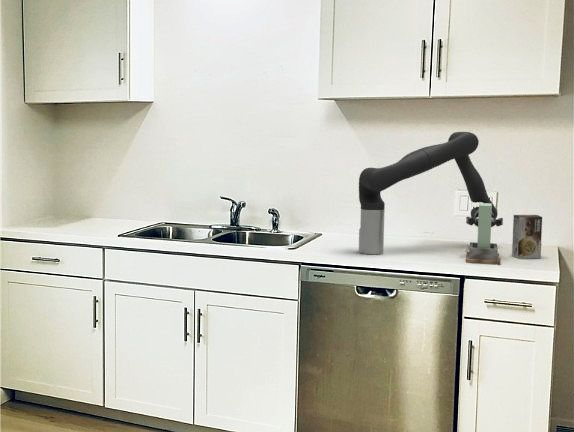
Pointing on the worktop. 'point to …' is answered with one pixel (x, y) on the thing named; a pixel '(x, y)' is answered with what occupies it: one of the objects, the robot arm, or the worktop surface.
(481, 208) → the block
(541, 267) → the worktop surface
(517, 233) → the coffee box
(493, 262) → the gray frame wooden base
